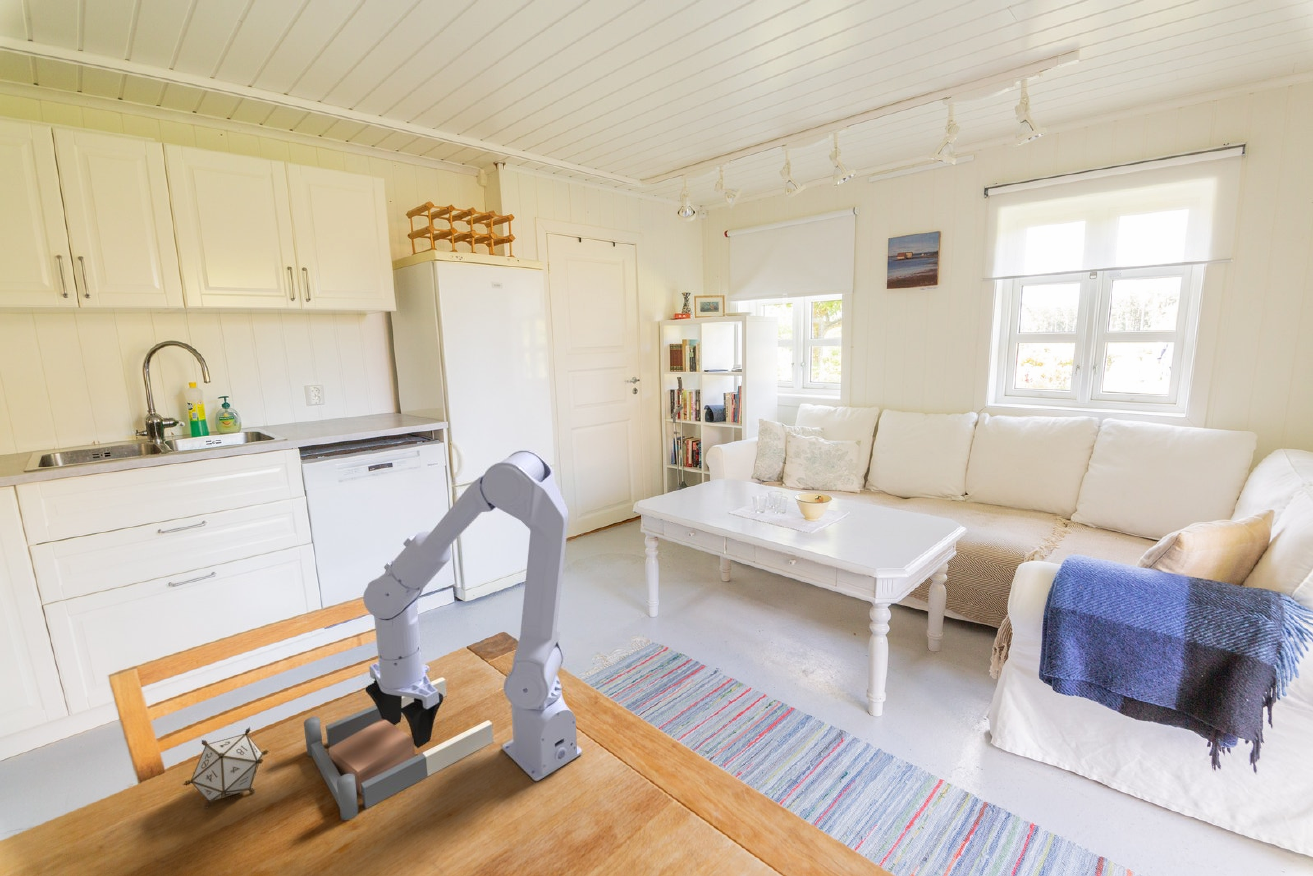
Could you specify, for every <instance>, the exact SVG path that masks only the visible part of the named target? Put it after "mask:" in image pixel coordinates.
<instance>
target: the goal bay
mask: <svg viewBox="0 0 1313 876" xmlns="http://www.w3.org/2000/svg"><path fill="white" fill-rule="evenodd" d="M381 719H382V718H381V715H380V712H379V710H378V708H377V706H376V704H374V705H372V706H369V707H367V708H365V709H362V710H360V711H357V712H355V713H353V714H350V715H347V716H346V717H343V718H341V719H339V720H336V721H332V722H331V723H329V724H326V725H325V730H326V739H327V740H326V741H327V745H328V748H330V747H332V746H334V745H335V744H337V743H339V742H341V741H343V740H344V739H346V738H348V737H350V736H352V735H354V734H355V733H357V732H359V731H361V730H363V729H364V728H366V727H368V726H370V725H372V724H373V723H375V722H377V721H379V720H381ZM303 728H304V730H303V731H304V735H305V736H304V737H305V744H306V745H305V746H306V752H307V753H306V754H307V756H308V757H312V759H313V760H314V762H315V765H316V766H317V768H318V771H319V772H320V774H321V776H322V777H323V779H324V781H325V782H326V785H327V787H328V788H329V790H330V792H331V795H332V796H333V798H334V800H335V801H336V804H337V805H338V808H339V813H340V819H341V820H342V821H346V822H347V821H350V820H353V819H354V818H356V817H357V816H358V814H359V806H358V795H357V793H358V792H357V791H356V784H355V776H354V774H345V775H343V776H340V774H339V772H338V770H337V769H336V767H335V765H334V763H333V762H332V760H331V758H330V756H329V752H327V750H326V748H325V746H324V743H323V736H322V735H323V734H322V728H321V718H320V716H311V717H308V718H307V719H305V720H304V721H303ZM427 777H429V776H428V774H427V763H426V756H425V755H424V754H423V752H421V753H419V754H416V755H415V757H413V758H411V759H409V760H407V761H405V762H403V763H401V764H399V765H397V766H395V767H393V768H391V769H389V770H387V771H385V772H383V773H381V774H379V775H377V776H375V777H373V778H371V779H369V780H367V781H365V782H363V783H361V788H362V794H361V797H362V804H363V806H364V808H365V809H366V810H367V809H369V808H371V807H373V806H375V805H376V804H378V803H380V802H382V801H384V800H386V799H388V798H389V797H392V796H394V795H395V794H396V795H397V793H399V792H401V791H403V790H405V789H407V788H408V787H411V786H412V785H414V784H417V783H418V782H420V781H422V780H424V779H426V778H427Z"/></svg>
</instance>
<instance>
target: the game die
mask: <svg viewBox="0 0 1313 876" xmlns="http://www.w3.org/2000/svg"><path fill="white" fill-rule="evenodd" d="M250 731H251V726H249V727H248V728H247V729H245V731H244V733H243V734H239V735H236V736H232V737H228V738H225V739H220V740H217V741H213V742H210V743H208V741H207V740H204V739H201V745H202V746H204V748H203V751H202V752H201V756H200V758H199V760H198V762H197V765H196V767H195V769H194V771H193V772H192V773H193V774H192V777H191V779H188V780H185V781H184V782H183V783H182V786H189V785H190V784H192V785H193V786H194V787H195V788H196V789H197V790H198V791H199V793H200V794H202V796H203V797H204V798H205V799H206V800H207V802H205V804H204V809H205V810H206V809H207V808H209V807H210V806H211V804H212V803H211V802H215V801H216V800H220V799H224V798H227V797H231V796H234V795H236V794H240V793H243V792H246V791H248V793H249V794H255V789H254V788H253V787H252V786H253V783H254V779H255V778H256V777H255V776H256V774H257V772H258V768H259V765H260V764H262V763H263V762H264V760H263V758H262V757H263V756H264V755H267V754H268V753H269V752H270V751H269V750H266V749H265V750H263V751H261V749H260V748H259V747H258V746H257V745H256V744H255V742H254V741H253V740H252V739H251V737H250V735H249V733H250Z"/></svg>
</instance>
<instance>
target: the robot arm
mask: <svg viewBox="0 0 1313 876" xmlns="http://www.w3.org/2000/svg"><path fill="white" fill-rule="evenodd" d="M496 508H497V509H499V510H500V511H502V512H504V513H506V514H508V515H510V516H512V517H513V518H516V519H518V520H519V521H521V522H522V523H523V524H524V525H525V527H527V529H528V530H529V532H530V534H529V543H528V551H527V552H528V553H527V563H526V573H525V581H524V582H525V583H524V593H523V594H524V595H523V602H522V603H523V604H522V614H521V625H520V635H519V639H518V641H517V642H518V643H517V646H516V649H515V652H514V655H513V658H512V659H513V660H512V667H511V670H510V671H509V672H508V673H507V676H506V677H505V679H504V682H503V691H504V695H505V697H506V698H507V700H508V701H509V703H510V704H511V705H510V707H511V721H512V722H511V723H512V738H513V739H511V740H509V741H507V742H505V743H504V744H502V750H503V751H504V752H505V754H507V755H508V756H509V757H510V758H511V760H513V761H514V762H515V763H517V764H516V765H518V766H519V767H520V768H521V769H522V770H523V771H524V772H525V773H526V774H528V775H529V776H530V778H532V780H534V781H536V782H537V781H540V780H541V779H543V778H545V777H546V776H548V775H549V774H551V773H553V772H555V771H556V770H559V768H561V767H563V766H564V765H566V764H568V763H570V762H571V761H573V760H574V759H575V758H577V757H579V756H581V755H582V754H583V749H582V748H581V747H580V746H578V741H577V739H578V738H577V719H576V716H575V714H574V712H573V711H572V710H571V709H570V708H569V707H568V705H567V704H566V702H565V699H564V697H563V691H562V684H561V682H560V679H559V676H558V672H559V671H560V669H561V667H562V665H563V662H564V652H563V651H564V650H563V648H562V646H561V642H560V637H561V636H560V635H561V631H560V630H558V619H559V612H560V611H559V610H560V601H561V591H562V584H563V582H562V581H563V574H564V565H565V556H566V546H567V536H568V529H569V528H568V527H569V519H570V514H569V510H568V508H567V505H566V502H565V500H564V498H563V496H562V494H561V492H560V489H559V487H558V485H557V482H556V480H555V475H554V470H553V467H552V466H551V465H550V464H548V463H547V462H546V460H544V459H543V458H542V456H540V455H539V454H538V453H537V452H535V451H531V450H527V449H520V450H518V451H515V452H513V453H512V454H510V455H509V456H508V457H507V458H504V460H502V461H500V462H496V463H494V464H492V465H491V466H490V467H488V468H487V470H486V471H485V473H484V474H482V475H481V476H479V477H478V478H477V479H475V480H474V481H473V482H472V483H471V484H470V485H469V486H467V488H466V489H465V490H464V492H463V493H462V494H461V495H460V496H459V497H458V499H457V500H456V501H455V503H453V505H452V506H451V507H450V509H448V511H447V512H446V514H445V515H444V516H443V517H442V518H441V520H440V521H439V522H438V523H437V525H436V526H435V527H434V528H433V529H432V530H431V531H421V532H418V533H417V534H416V535H414V534H412V535H410V536H409V537H407V538H406V540H405V541H404V542H402V543H403V546H405V547H404V549H403V550H402V551H401V552H400V553H399V554H398V555H397V556H396V557H395V558H394V560H393V559H391V560H389V561H388V562H386V564H385V565H384V567H383V568H384V570H385V572H384V573H382V574H381V575H380V576H379V577H377V578H375V579H373V580H371V581H369V582H368V584H367V587H366V588H365V590H364V592H363V596H362V597H363V604H364V607H365V608H366V610H367V611H368V613H369V614H370V615H371V616H373V619H374V626H375V627H374V629H375V640H376V646H377V657H378V658H377V659H378V661H376V662H375V663H372V664H371V665H369V666H368V667H369V668H368V669H369V677H370V679H374V680H373V683H370V684H368V685H367V686H366V687H365V692H366V693H367V695H369V697H370V698H371V699H372V701H373V702H374V705H376V706H377V708H378V710H379V712H380V715H381V718H382V719H384V720H387V721H389V722H390V723H392V724H393V725H395V726H396V725H398V724H400V723H401V721H402V716H401V715H402V713H403V716H404V717H405V719H406V721H407V722H408V726H409V729H410V733H411V737H412V738H414V747H416V748H417V749H420V748H421V747H422V746H424V745H426V744H428V743H429V742H430V741H431V738H432V732H433V728H434V723H435V720H436V716H437V713H438V711H439V708H440V707H441V705H442V703H443V702H444V697H443V695H442V694H441V693H439V692H438V690H437V689H436V688H434V687H433V685H432V684H431V682H432V681H430V678H429V677H428V675H427V674H428V673H429V672H430V666H429V665H427V664H425V663H423V658H422V657H423V656H422V647H421V644H422V643H421V637H420V636H421V635H420V633H421V632H420V623H419V615H418V604H419V603H418V601H419V597H420V596H421V595H422V593H423V592H424V589H425V587H426V586H427V585H428V584H430V582H431V581H432V580H433V579H434V577H435V576H436V575H437V574H438V573H439V572H440V571H441V569H443V567H444V566H445V565H446V564H447V563H448V562H449V561H450V559H451V556H452V551H451V545H452V544H453V543H454V541H456V539H458V538H459V536H460V535H462V533H464V531H466V529H467V528H468V527H469V526H471V524H472V523H473V522H474V521H475V520H476V519H477V518H478V516H479V515H481V513H486V512H487V513H488V512H492V511H494V510H495V509H496ZM402 696H404V697H410V698H414V702H412V703H410V704H408V705H407V706H405V707H403V708H402Z"/></svg>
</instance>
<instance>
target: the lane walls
mask: <svg viewBox="0 0 1313 876" xmlns="http://www.w3.org/2000/svg"><path fill="white" fill-rule="evenodd" d="M430 682H431V684H432V685H433V687H434V688H436V689H437V690H438V692H439V693H441V694H442V695H443V698H446V697H447V696H448V693H447V681H446V679H445V678H444V677H443V676H442V677H438V678H437V679H435V680H432V681H430ZM412 702H414V698H410V697H404V696H402V708H403V707H405V706H407V705H408V704H410V703H412ZM402 716H404V715H403V713H402V715H401V717H402ZM493 742H494V729H493V722H491V721H490V720H489V719H487V720H486V721H484V722H482V723H479V724H478V725H475V726H474V727H471V728H469V729H468V730H466V731H463V732H461V733H459V734H457V735H455V736H453V737H451V738H450V739H447V740H445V741H443V742H441V743H439V744H437V745H436V746H433V747H431V748H429V749H427V750H425V751H424V752H423V751H422V753H423V754H424V755H425V756H426V763H427V774H428V777H429V776H432V775H434V774H435V773H437V772H439V771H442V770H443V769H444V768H447V767H448V766H450V765H452V764H454V763H456V762H458V761H460V760H462V759H464V758H465V757H467V756H469V755H471V754H473V753H475V752H477V751H478V750H481V749H483V748H484V747H487V746H488V745H490V744H493Z"/></svg>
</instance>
